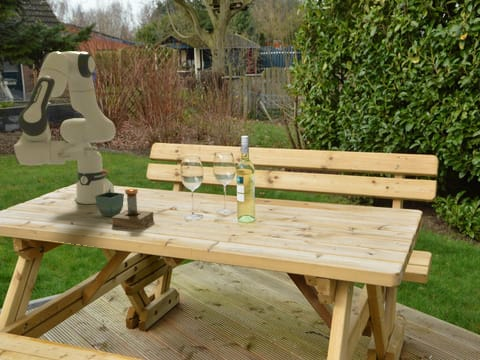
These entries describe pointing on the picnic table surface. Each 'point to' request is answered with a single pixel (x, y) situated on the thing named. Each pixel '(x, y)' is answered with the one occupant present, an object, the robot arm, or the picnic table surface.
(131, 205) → the pin
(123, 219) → the block
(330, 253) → the picnic table surface
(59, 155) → the robot arm
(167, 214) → the picnic table surface
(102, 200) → the flower pot
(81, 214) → the picnic table surface
